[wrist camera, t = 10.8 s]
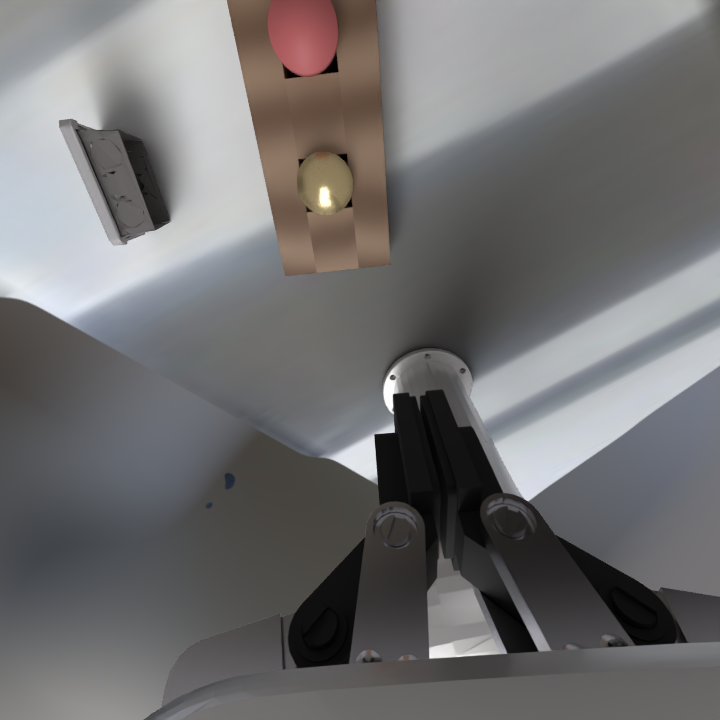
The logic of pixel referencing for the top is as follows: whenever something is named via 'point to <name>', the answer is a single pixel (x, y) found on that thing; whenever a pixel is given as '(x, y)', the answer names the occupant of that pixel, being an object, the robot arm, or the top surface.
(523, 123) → the top surface
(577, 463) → the top surface
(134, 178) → the electrical switch
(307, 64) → the oxblood plug
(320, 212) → the brass plug
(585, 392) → the top surface
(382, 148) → the plug block
